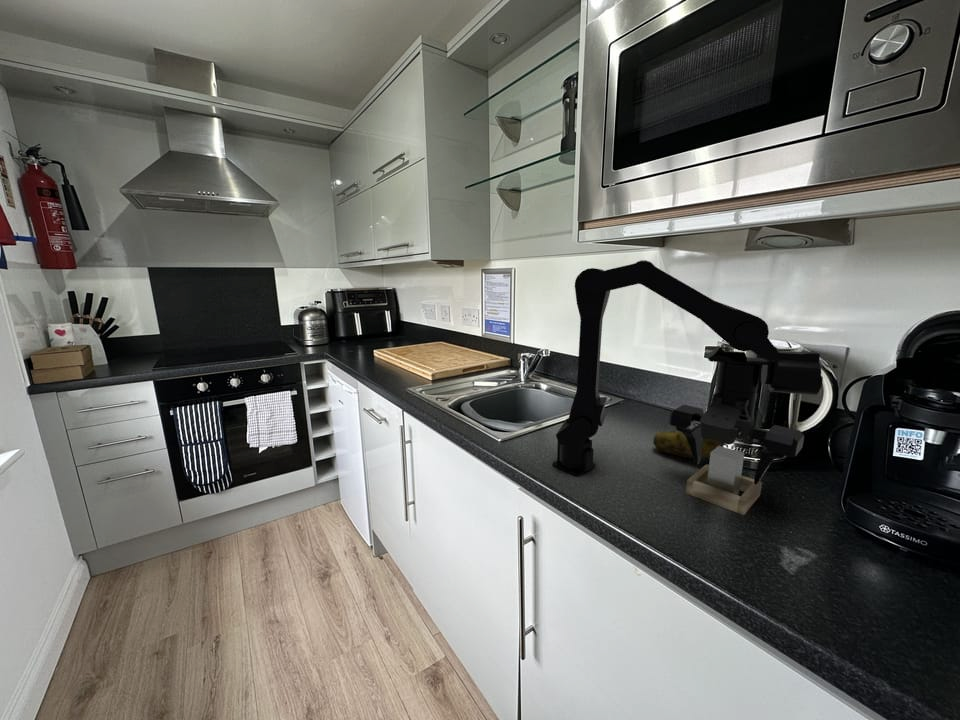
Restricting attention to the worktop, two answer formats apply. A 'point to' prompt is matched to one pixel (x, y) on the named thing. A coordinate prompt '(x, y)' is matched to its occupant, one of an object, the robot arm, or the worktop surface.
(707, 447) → the potato
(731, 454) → the brushed grey square prism
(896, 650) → the worktop surface
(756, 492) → the frame
